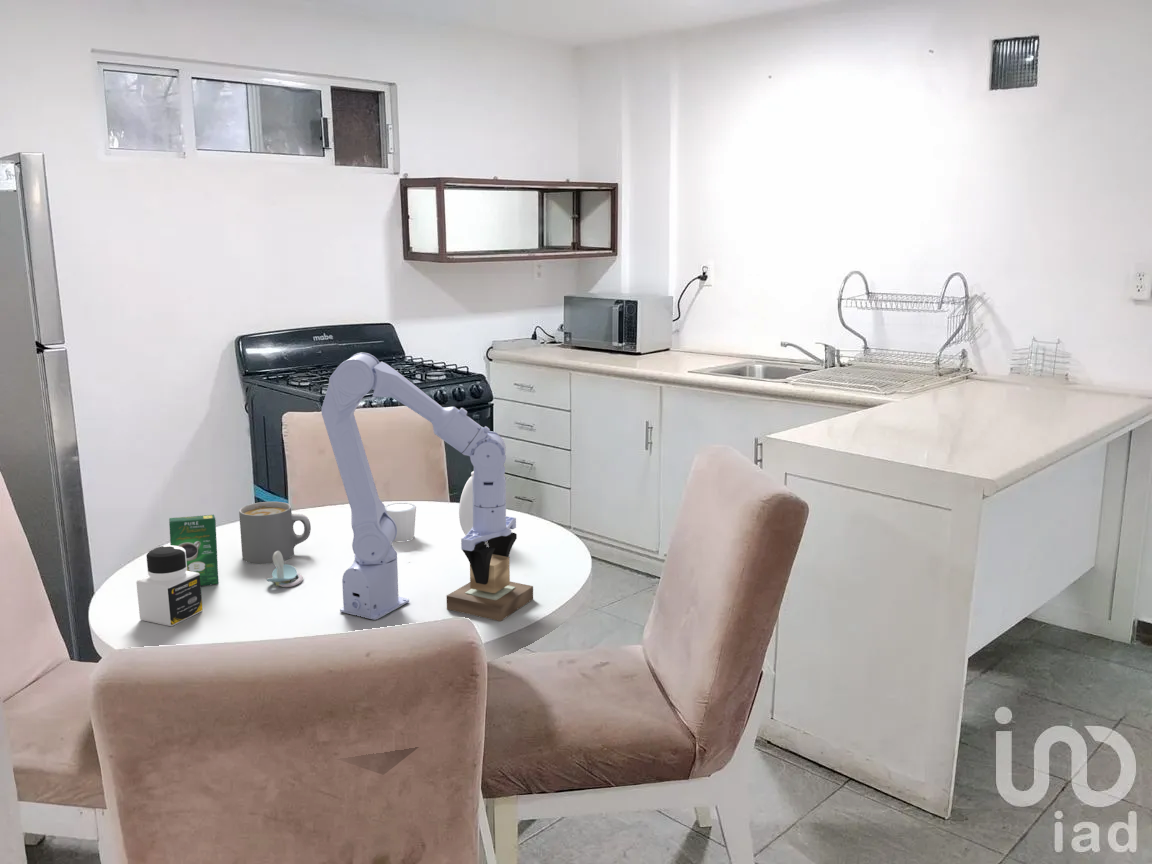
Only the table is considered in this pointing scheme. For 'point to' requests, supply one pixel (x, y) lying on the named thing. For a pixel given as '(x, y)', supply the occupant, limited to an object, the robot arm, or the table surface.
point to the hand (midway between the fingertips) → (490, 577)
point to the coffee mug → (269, 531)
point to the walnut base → (490, 601)
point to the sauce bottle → (466, 506)
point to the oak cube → (494, 575)
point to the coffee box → (197, 545)
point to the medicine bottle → (168, 588)
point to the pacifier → (284, 572)
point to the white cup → (403, 519)
